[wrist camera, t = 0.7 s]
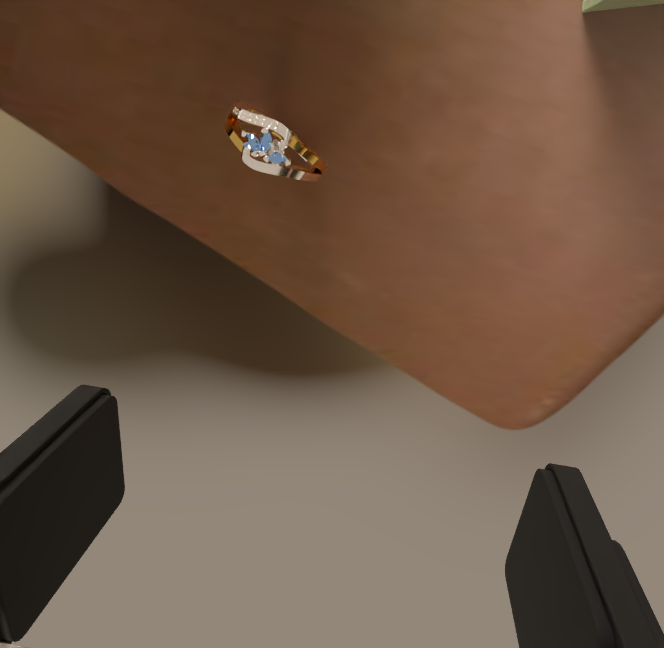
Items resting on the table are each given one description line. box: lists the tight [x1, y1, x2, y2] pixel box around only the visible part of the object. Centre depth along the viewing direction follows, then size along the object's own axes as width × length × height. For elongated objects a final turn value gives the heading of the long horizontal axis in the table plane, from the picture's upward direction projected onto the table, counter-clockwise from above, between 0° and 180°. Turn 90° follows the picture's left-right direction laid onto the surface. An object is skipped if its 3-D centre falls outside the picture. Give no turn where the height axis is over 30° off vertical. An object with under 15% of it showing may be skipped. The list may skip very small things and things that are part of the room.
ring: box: [225, 101, 328, 181], centre depth 33 cm, size 7×3×8 cm, turn 52°
